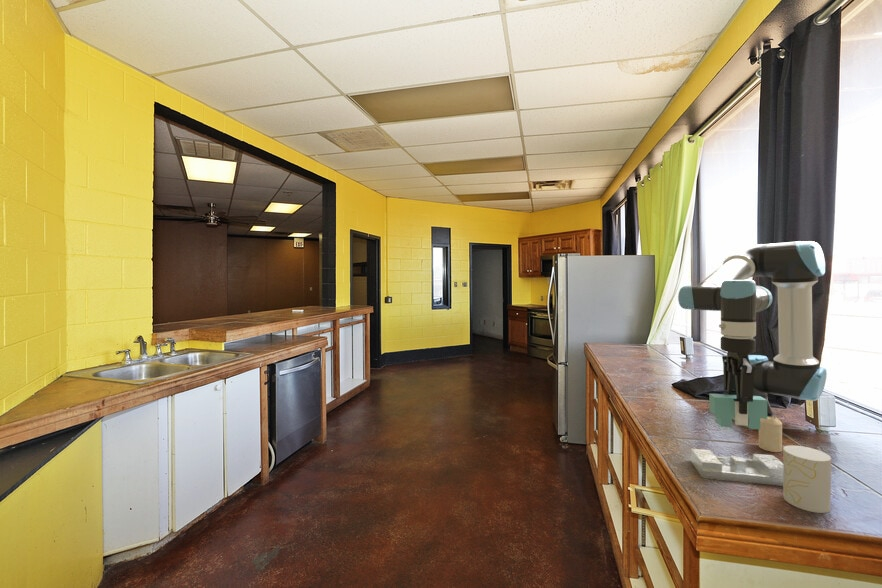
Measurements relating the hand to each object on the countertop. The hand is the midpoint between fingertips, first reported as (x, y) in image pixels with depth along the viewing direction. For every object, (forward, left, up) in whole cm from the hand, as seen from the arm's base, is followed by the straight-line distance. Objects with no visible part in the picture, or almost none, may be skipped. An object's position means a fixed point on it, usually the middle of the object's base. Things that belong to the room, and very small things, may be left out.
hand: (737, 421), depth 104 cm
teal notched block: (0, 0, -1) cm, 1 cm away
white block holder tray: (0, 0, -14) cm, 14 cm away
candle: (-16, -19, -14) cm, 29 cm away
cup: (-9, +12, -14) cm, 21 cm away
